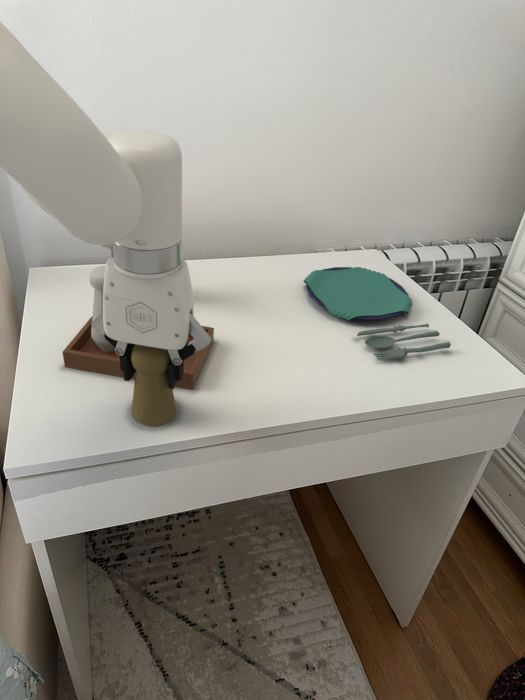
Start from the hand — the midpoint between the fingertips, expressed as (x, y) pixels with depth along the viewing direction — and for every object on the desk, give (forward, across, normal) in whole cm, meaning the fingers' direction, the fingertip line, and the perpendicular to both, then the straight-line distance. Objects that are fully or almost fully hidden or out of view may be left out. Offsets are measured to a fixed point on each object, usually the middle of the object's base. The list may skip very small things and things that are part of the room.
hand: (152, 377), depth 70 cm
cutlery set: (+6, +29, +36) cm, 47 cm away
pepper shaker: (+6, 0, 0) cm, 6 cm away
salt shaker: (+5, -11, +12) cm, 17 cm away
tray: (+6, -6, +12) cm, 15 cm away
